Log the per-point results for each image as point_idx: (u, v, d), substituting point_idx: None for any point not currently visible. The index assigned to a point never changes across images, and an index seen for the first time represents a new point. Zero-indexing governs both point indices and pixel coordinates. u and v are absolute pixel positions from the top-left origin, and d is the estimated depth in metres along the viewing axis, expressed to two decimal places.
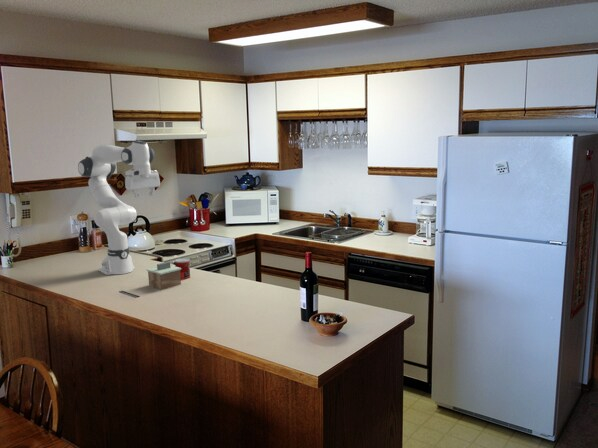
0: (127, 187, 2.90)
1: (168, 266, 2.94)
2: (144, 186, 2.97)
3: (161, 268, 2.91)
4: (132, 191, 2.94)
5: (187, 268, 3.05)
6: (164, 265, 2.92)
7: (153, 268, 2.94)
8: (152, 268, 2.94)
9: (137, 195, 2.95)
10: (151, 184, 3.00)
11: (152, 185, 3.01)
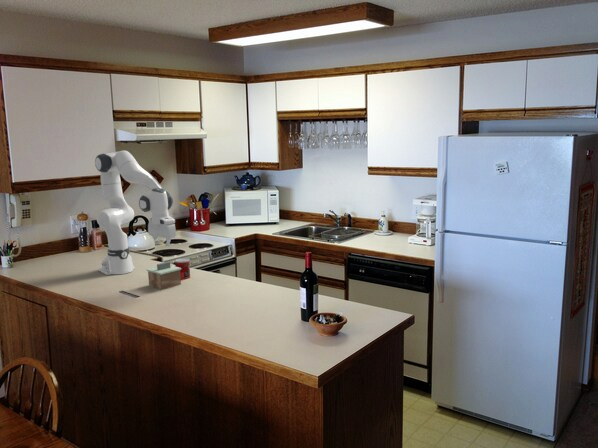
0: (173, 235, 2.84)
1: (168, 266, 2.94)
2: None
3: (161, 268, 2.91)
4: (167, 240, 2.86)
5: (187, 268, 3.05)
6: (164, 265, 2.92)
7: (153, 268, 2.94)
8: (152, 268, 2.94)
9: None
10: None
11: None
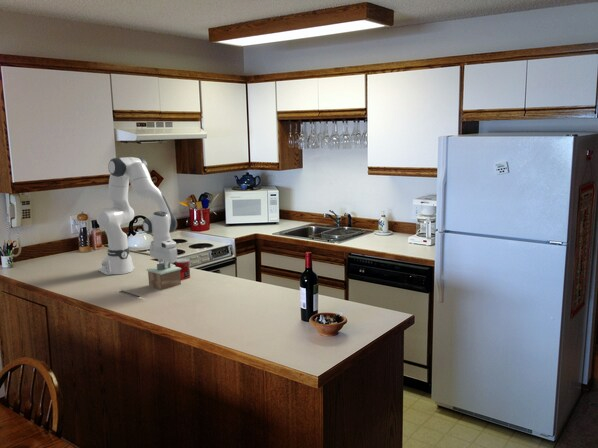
0: (174, 259, 2.86)
1: (168, 266, 2.94)
2: None
3: (161, 268, 2.91)
4: (166, 262, 2.90)
5: (187, 268, 3.05)
6: None
7: (153, 268, 2.94)
8: (152, 268, 2.94)
9: None
10: None
11: None
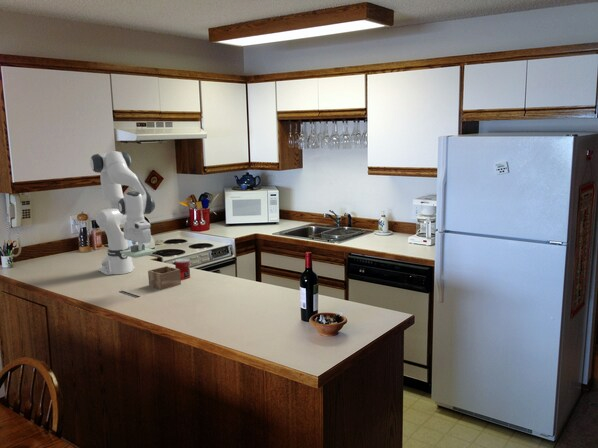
0: (148, 240, 2.76)
1: (142, 248, 2.85)
2: None
3: (135, 250, 2.81)
4: (139, 244, 2.80)
5: (187, 268, 3.05)
6: None
7: (127, 250, 2.85)
8: (126, 250, 2.85)
9: None
10: None
11: None
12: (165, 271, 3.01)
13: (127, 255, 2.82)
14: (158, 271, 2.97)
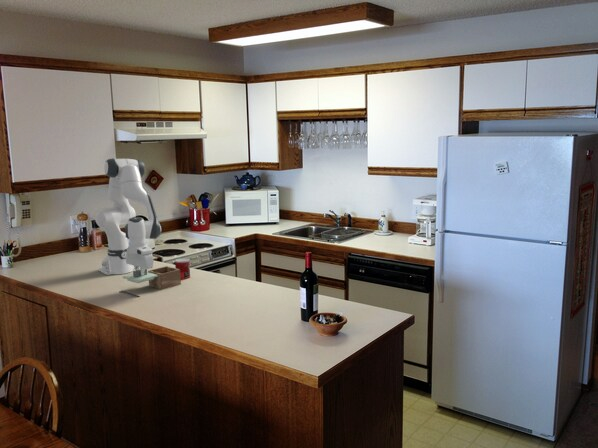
0: (150, 266, 2.79)
1: (145, 273, 2.87)
2: None
3: (137, 275, 2.84)
4: (142, 269, 2.83)
5: (187, 268, 3.05)
6: None
7: (129, 275, 2.87)
8: (128, 275, 2.87)
9: None
10: None
11: None
12: (165, 271, 3.01)
13: (130, 280, 2.84)
14: (158, 271, 2.97)
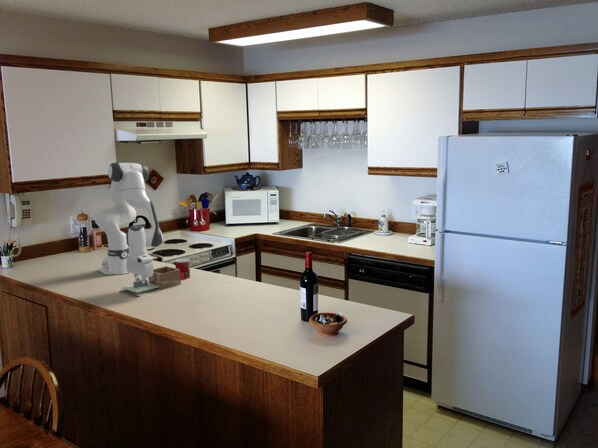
0: (150, 274, 2.79)
1: (145, 284, 2.88)
2: None
3: (137, 286, 2.85)
4: (143, 278, 2.83)
5: (187, 268, 3.05)
6: (141, 283, 2.86)
7: (130, 286, 2.88)
8: (129, 286, 2.88)
9: None
10: None
11: None
12: (165, 271, 3.01)
13: None
14: (158, 271, 2.97)
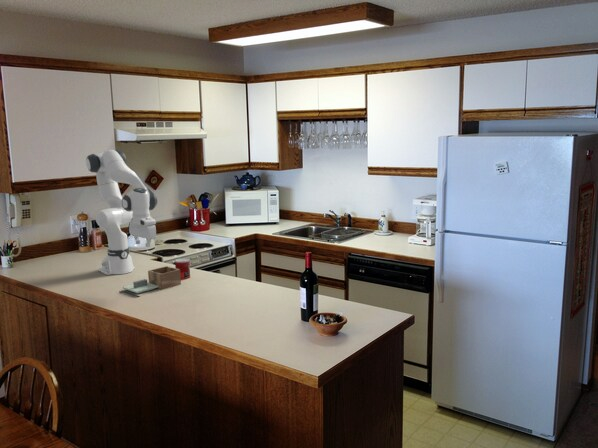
0: (153, 237, 2.82)
1: (145, 284, 2.88)
2: None
3: (137, 286, 2.85)
4: (148, 241, 2.84)
5: (187, 268, 3.05)
6: (141, 283, 2.86)
7: (130, 286, 2.88)
8: (129, 286, 2.88)
9: None
10: None
11: None
12: (165, 271, 3.01)
13: None
14: (158, 271, 2.97)
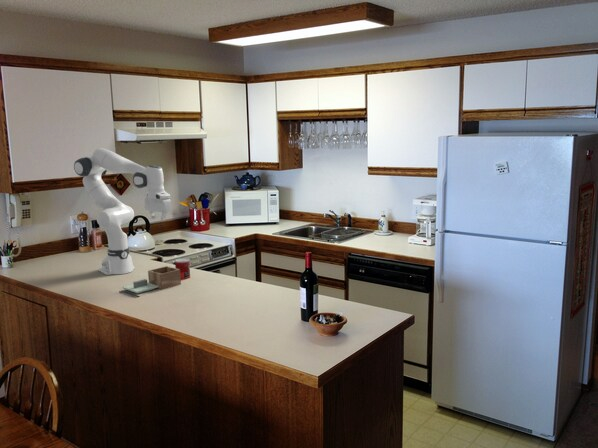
0: (168, 210, 2.97)
1: (145, 284, 2.88)
2: None
3: (137, 286, 2.85)
4: (163, 214, 2.99)
5: (187, 268, 3.05)
6: (141, 283, 2.86)
7: (130, 286, 2.88)
8: (129, 286, 2.88)
9: None
10: None
11: None
12: (165, 271, 3.01)
13: None
14: (158, 271, 2.97)
